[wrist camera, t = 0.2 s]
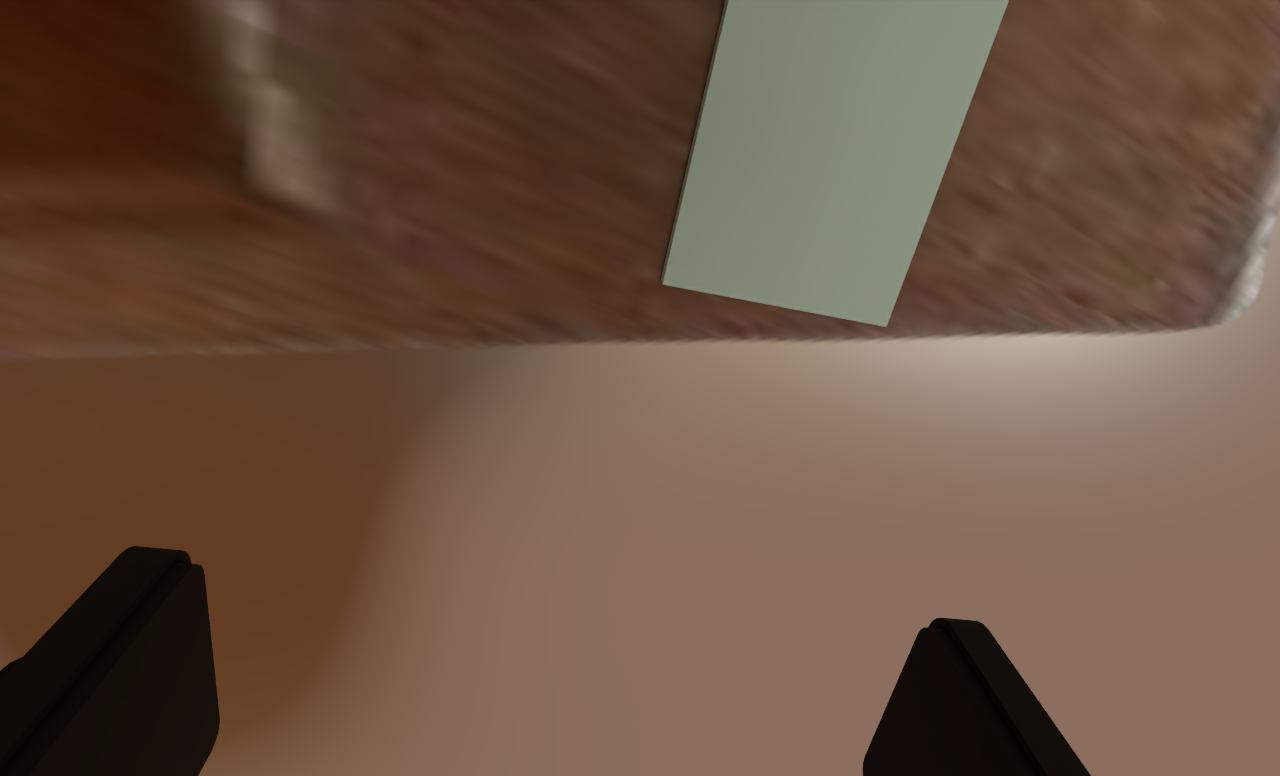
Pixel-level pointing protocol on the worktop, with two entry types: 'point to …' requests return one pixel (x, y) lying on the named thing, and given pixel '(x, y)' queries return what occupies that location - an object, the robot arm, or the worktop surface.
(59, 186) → the worktop surface
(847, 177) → the plate
